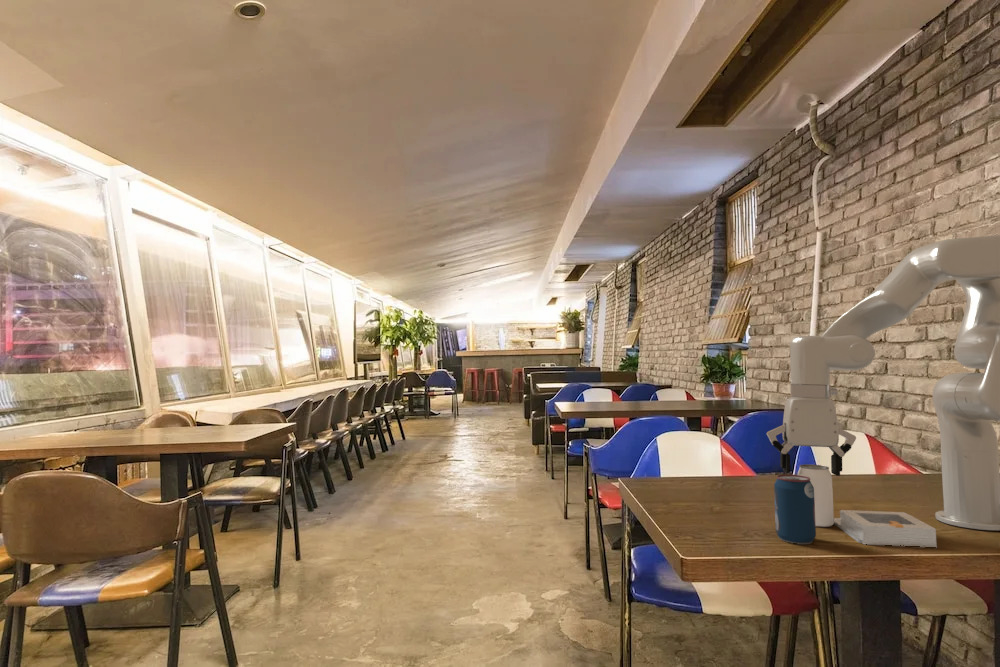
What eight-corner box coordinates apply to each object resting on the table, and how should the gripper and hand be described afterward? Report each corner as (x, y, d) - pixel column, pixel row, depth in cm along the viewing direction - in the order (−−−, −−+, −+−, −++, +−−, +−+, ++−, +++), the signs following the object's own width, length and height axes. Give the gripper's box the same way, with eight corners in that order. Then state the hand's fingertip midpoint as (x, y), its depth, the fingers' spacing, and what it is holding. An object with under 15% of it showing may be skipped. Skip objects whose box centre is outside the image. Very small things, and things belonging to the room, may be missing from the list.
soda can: (824, 543, 109) (822, 479, 109) (794, 547, 107) (792, 481, 107) (796, 533, 115) (794, 472, 116) (767, 536, 113) (765, 475, 114)
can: (838, 528, 118) (836, 469, 119) (804, 526, 120) (802, 468, 120) (827, 520, 125) (825, 464, 125) (795, 518, 126) (793, 463, 127)
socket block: (897, 523, 122) (896, 504, 122) (940, 548, 105) (939, 527, 105) (829, 520, 124) (828, 502, 125) (861, 544, 107) (860, 523, 108)
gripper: (847, 393, 126) (849, 472, 125) (762, 391, 129) (763, 468, 128) (861, 395, 118) (862, 479, 117) (771, 392, 122) (771, 474, 121)
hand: (810, 473), depth 123 cm, fingers open, 9 cm apart
